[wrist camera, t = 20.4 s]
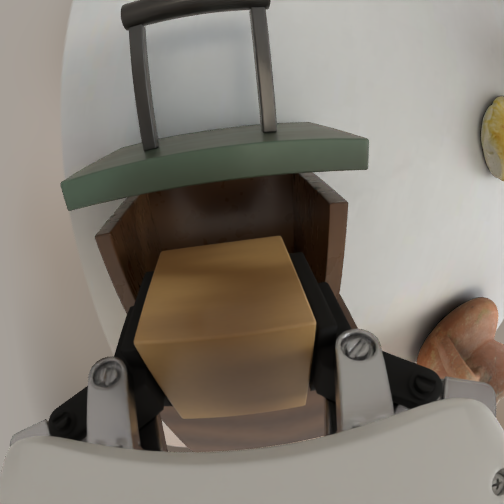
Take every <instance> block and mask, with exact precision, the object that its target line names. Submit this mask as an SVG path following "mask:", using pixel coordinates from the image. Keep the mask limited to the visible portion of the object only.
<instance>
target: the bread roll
mask: <svg viewBox="0 0 504 504" xmlns="http://www.w3.org/2000/svg"><path fill="white" fill-rule="evenodd" d="M481 141H482V147H483V152H484V157H485V160H486V163H487V166H488V168H489V170H490V172H491V173H492V175H493V176H495V177H496V178H499V179H500V180H502V181H504V96H500V97H497V98H496V99H495V100H494V101H493V104H492V105H491V106H490V107H489V108H488V109H487V110H486V113H485V116H484V118H483V123H482V129H481Z"/></svg>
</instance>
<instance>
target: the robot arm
mask: <svg viewBox="0 0 504 504" xmlns="http://www.w3.org/2000/svg"><path fill="white" fill-rule="evenodd" d="M289 256H290V258H291V261H292V263H293V266H294V268H295V270H296V273H297V275H298V278H299V280H300V283H301V285H302V287H303V290H304V292H305V295H306V297H307V300H308V302H309V305H310V307H311V310H312V312H313V315H314V317H315V320H316V331H315V340H314V349H313V357H312V365H311V372H310V379H309V387H310V391H314V390H316V393H317V394H319V395H321V396H323V397H324V437H319V438H315V439H311V440H306V441H301V442H296V443H290V444H284V445H278V446H271V447H264V448H256V449H247V450H236V451H221V452H168V450H167V446H166V441H165V436H164V431H163V426H162V420H161V415H160V412H161V411H163V410H164V406H172V404H171V402H170V401H169V400H168V398H167V397H166V395H165V394H164V392H163V391H162V389H161V388H160V386H159V385H158V383H157V382H156V380H155V379H154V377H153V375H152V374H151V372H150V371H149V369H148V367H147V366H146V364H145V362H144V361H143V359H142V357H141V356H140V354H139V352H138V351H137V349H136V347H135V345H134V338H135V334H136V331H137V327H138V323H139V320H140V316H141V313H142V309H143V306H144V302H145V299H146V296H147V292H148V289H149V286H150V283H151V280H152V277H153V273H154V271H150V272H146V273H145V275H144V278H143V280H142V283H141V286H140V289H139V292H138V295H137V298H136V301H135V303H134V306H131V307H130V309H129V311H128V314H127V317H126V320H125V323H124V326H123V329H122V332H121V335H120V339H119V342H118V345H117V349H116V352H115V355H114V357H105V358H102V359H101V360H99V361H97V362H96V363H95V364H94V365H93V366H92V368H91V370H90V373H89V377H88V378H89V379H88V386H87V387H85V388H84V389H83V390H82V391H80V392H79V393H77V394H76V395H74V396H73V397H72V398H70V399H69V400H68V401H66V402H65V403H63V404H62V405H61V406H59V407H58V408H56V409H55V410H54V411H53V412H52V414H51V416H50V419H49V421H47V420H46V419H45V420H43V421H41V422H39V423H37V424H35V425H33V426H31V427H28V428H26V429H24V430H22V431H20V432H18V433H16V434H15V435H14V436H13V437H12V439H11V442H10V448H9V450H8V452H7V454H6V456H5V459H4V463H3V466H2V470H1V475H0V504H504V431H503V429H502V427H501V425H500V424H499V422H498V420H497V419H496V394H495V391H494V389H493V387H492V386H490V385H489V384H487V383H485V382H478V381H472V380H465V379H459V378H453V377H447V376H445V378H444V379H441V378H440V377H439V375H438V374H437V373H436V372H435V371H433V370H431V369H429V368H426V367H424V366H421V365H418V364H415V363H413V362H410V361H407V360H404V359H402V358H399V357H396V356H394V355H391V354H389V353H386V352H383V351H382V349H381V345H380V342H379V340H378V338H377V337H376V336H375V335H374V334H372V333H371V332H369V331H366V330H363V329H351V327H350V325H349V323H348V321H347V319H346V317H345V315H344V313H343V311H342V309H341V307H340V305H339V303H338V301H337V299H336V297H335V295H334V293H333V291H332V290H331V288H330V286H329V284H328V283H327V282H322V283H317V281H316V278H315V276H314V274H313V272H312V270H311V268H310V266H309V264H308V262H307V260H306V258H305V256H304V254H303V253H302V252H297V253H289Z"/></svg>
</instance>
